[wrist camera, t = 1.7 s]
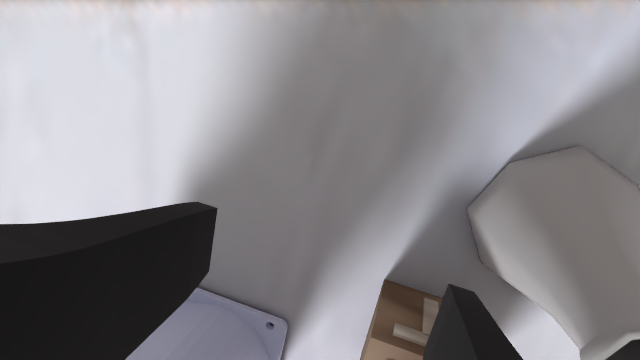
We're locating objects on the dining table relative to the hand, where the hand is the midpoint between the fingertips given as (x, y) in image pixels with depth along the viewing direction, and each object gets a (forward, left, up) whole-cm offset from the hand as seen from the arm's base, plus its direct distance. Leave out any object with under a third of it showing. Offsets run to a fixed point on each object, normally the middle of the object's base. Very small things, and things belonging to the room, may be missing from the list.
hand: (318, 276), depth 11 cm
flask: (+8, 0, -11) cm, 14 cm away
